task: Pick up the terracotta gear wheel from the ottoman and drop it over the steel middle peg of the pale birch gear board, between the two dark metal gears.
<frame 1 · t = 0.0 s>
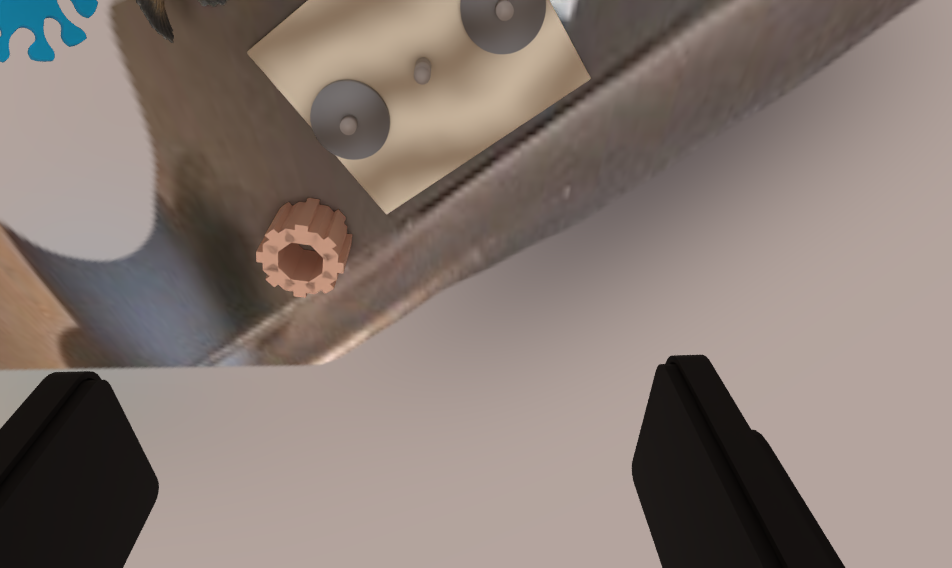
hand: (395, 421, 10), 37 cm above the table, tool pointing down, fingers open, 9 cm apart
gear wheel: (312, 233, 49), on the table
gear board: (423, 62, 42), on the table
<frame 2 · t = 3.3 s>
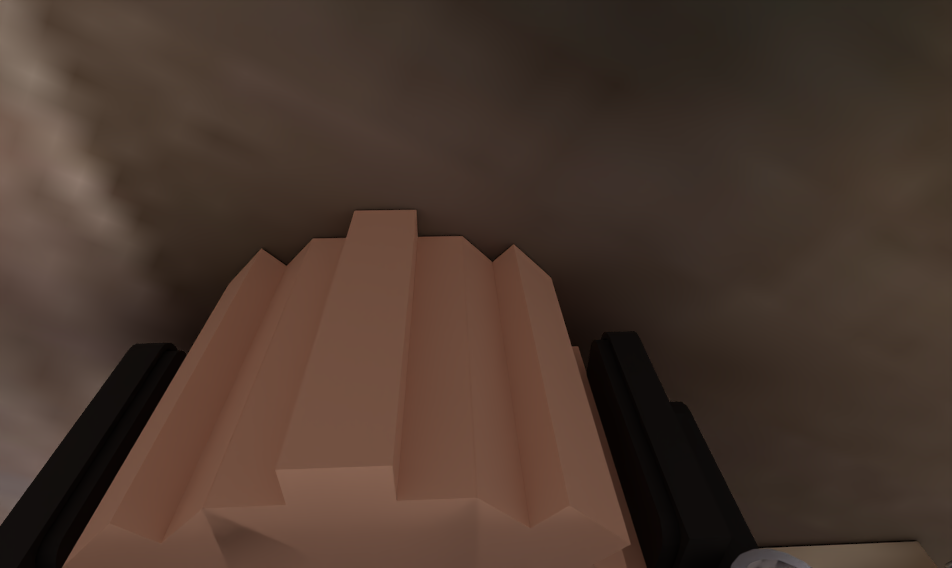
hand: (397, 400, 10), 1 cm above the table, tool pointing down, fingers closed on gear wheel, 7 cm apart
gear wheel: (400, 370, 11), on the table, touching gripper
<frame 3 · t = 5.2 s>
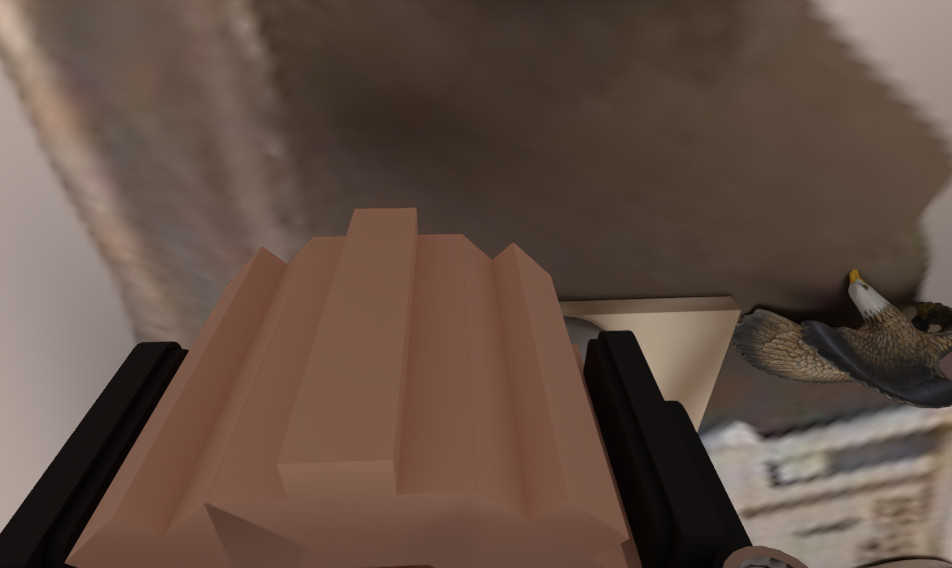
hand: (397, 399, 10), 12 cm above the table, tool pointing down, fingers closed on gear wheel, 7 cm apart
eagle figurine: (832, 305, 25), on the table
gear wheel: (400, 368, 11), point 11 cm above the table, touching gripper
gear board: (536, 450, 29), on the table
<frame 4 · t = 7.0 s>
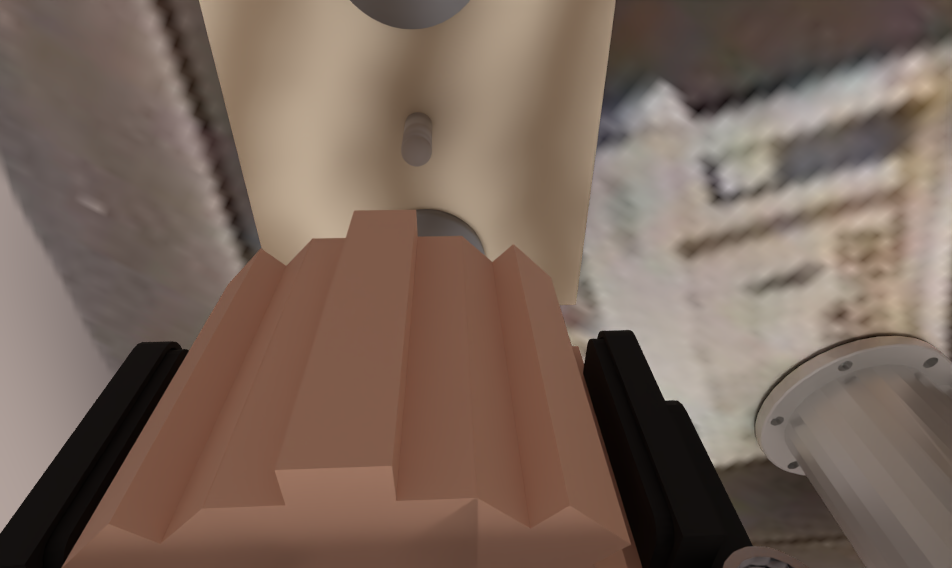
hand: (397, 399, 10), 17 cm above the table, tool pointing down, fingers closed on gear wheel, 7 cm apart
gear wheel: (400, 370, 11), point 17 cm above the table, touching gripper
gear board: (419, 118, 25), on the table
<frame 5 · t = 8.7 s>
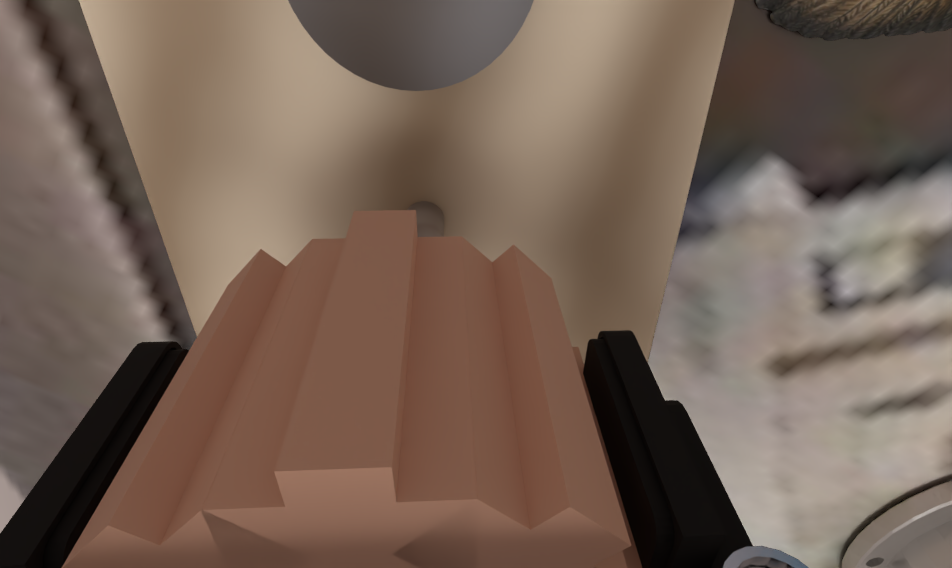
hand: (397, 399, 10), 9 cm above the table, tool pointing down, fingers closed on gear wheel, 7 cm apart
gear wheel: (400, 370, 11), point 8 cm above the table, touching gripper
gear board: (425, 205, 17), on the table
when the fingers open (6 cm above the table, at t = 10.2 s): gear wheel drops 4 cm, resting on gear board.
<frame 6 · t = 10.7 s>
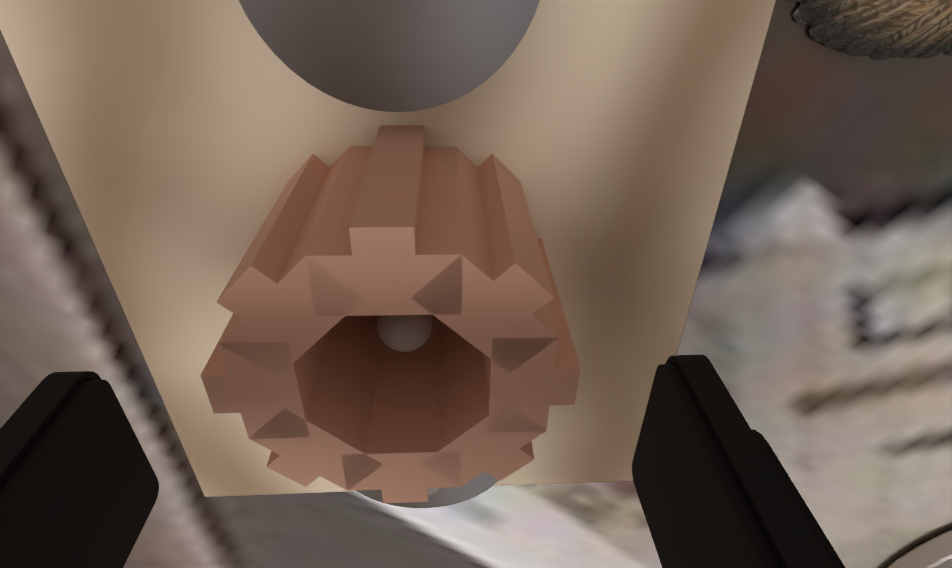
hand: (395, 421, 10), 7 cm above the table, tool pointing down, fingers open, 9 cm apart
gear wheel: (409, 255, 15), point 1 cm above the table, touching gear board
gear board: (413, 236, 15), on the table
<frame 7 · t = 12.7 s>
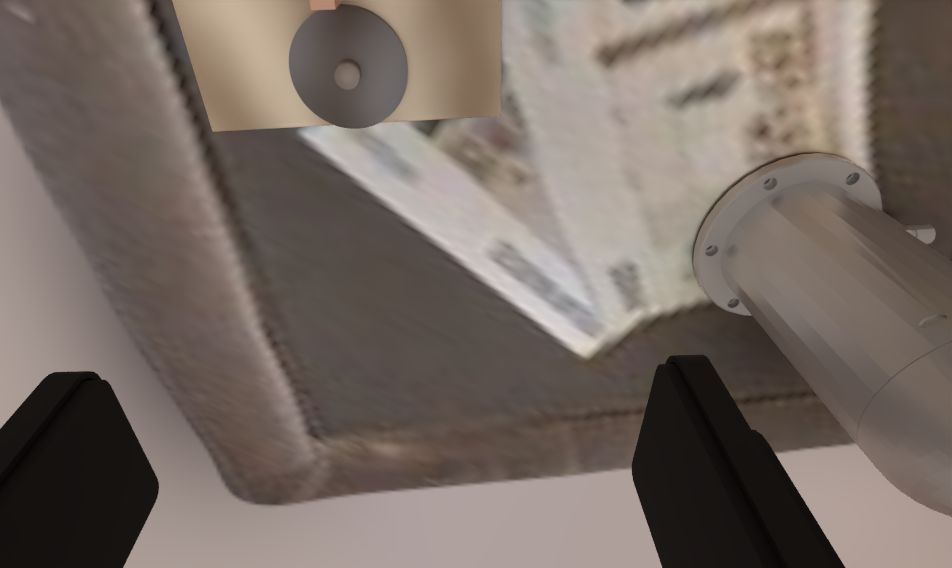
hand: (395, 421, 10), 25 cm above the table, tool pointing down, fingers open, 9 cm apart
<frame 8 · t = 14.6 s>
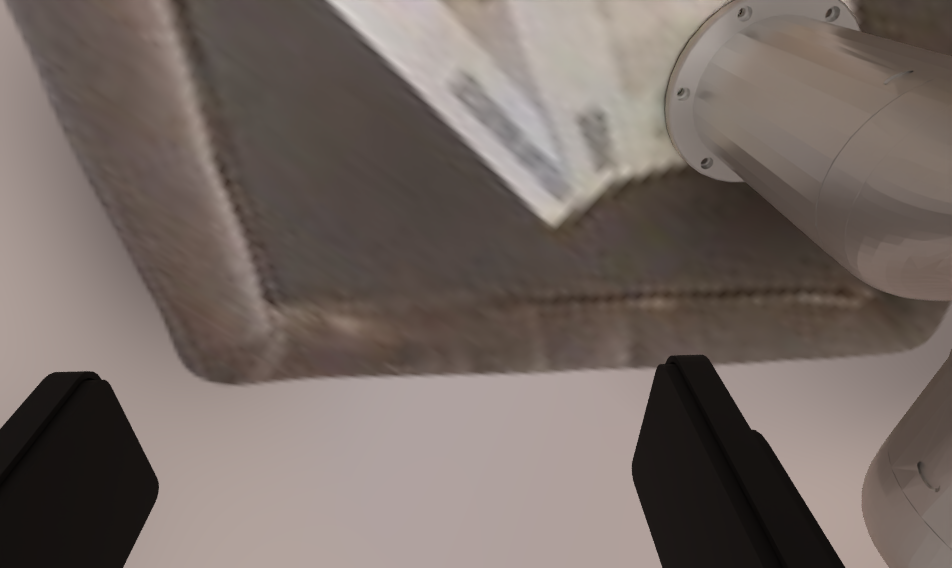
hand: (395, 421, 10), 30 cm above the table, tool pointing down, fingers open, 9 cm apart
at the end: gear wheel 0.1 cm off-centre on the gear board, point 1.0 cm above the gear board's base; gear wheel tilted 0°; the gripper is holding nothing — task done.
